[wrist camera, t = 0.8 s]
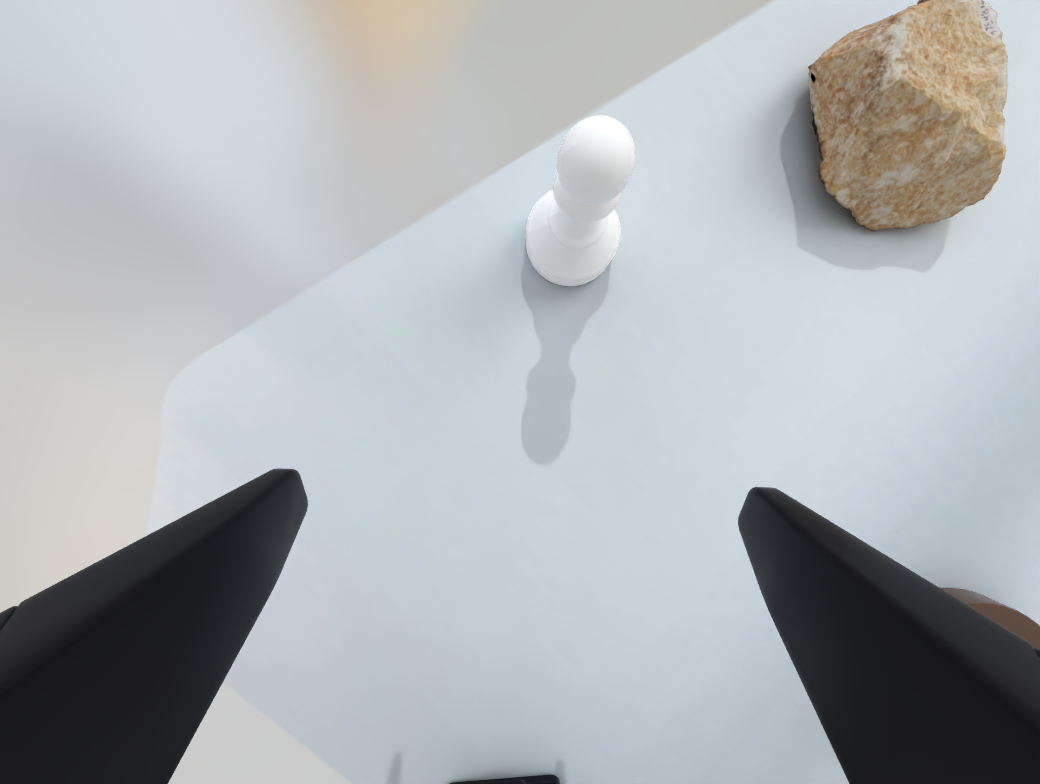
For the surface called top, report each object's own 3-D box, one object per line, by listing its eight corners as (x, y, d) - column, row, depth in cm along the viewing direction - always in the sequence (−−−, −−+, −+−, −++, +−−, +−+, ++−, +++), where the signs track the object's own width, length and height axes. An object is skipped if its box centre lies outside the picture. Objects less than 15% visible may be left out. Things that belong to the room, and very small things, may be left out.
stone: (931, 37, 22) (1040, -57, 17) (955, 222, 22) (1070, 178, 17) (782, 58, 22) (851, -29, 17) (806, 243, 22) (881, 204, 17)
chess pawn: (612, 197, 22) (676, 59, 13) (615, 285, 22) (681, 211, 13) (523, 200, 22) (524, 65, 13) (526, 289, 22) (530, 217, 13)
